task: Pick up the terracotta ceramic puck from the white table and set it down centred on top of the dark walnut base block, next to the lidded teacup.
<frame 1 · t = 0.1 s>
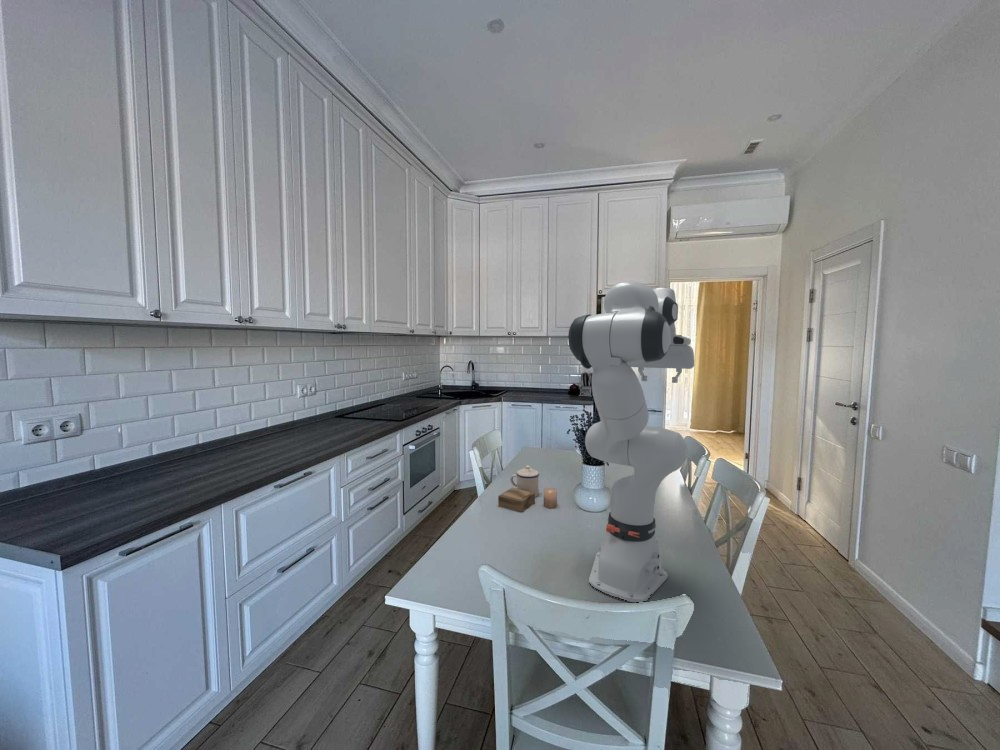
hand: (659, 381, 128), 48 cm above the table, fingers open, 8 cm apart
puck: (550, 505, 147), on the table
base: (516, 504, 148), on the table
teacup with lid: (524, 494, 159), on the table
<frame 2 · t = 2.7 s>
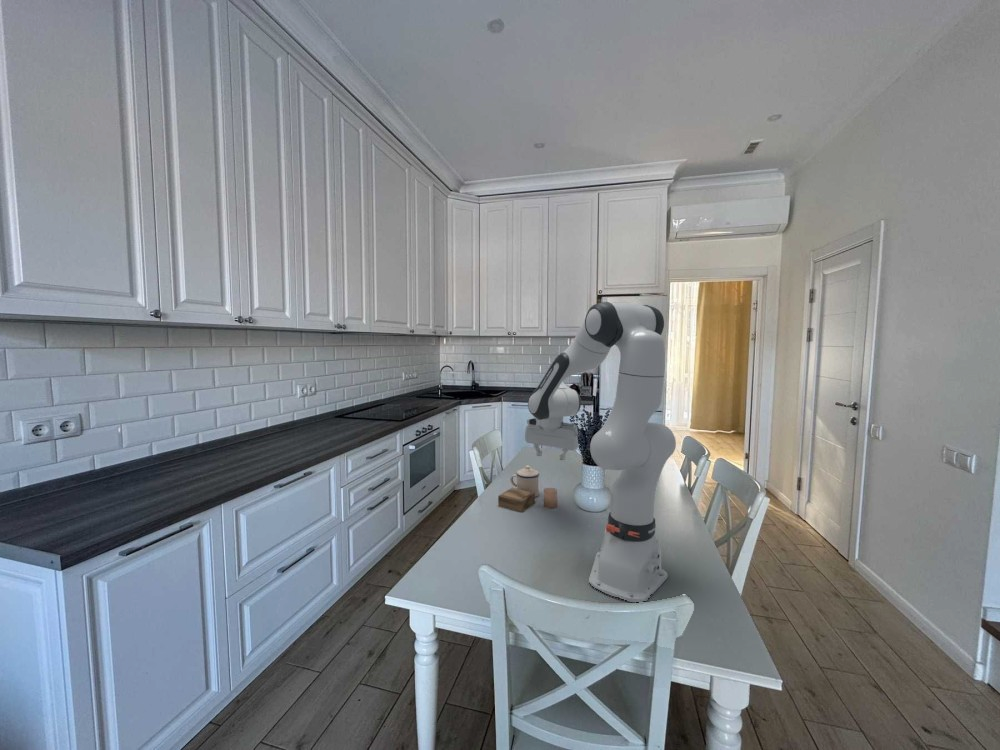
hand: (550, 457, 146), 18 cm above the table, fingers open, 8 cm apart
nothing on the table moved.
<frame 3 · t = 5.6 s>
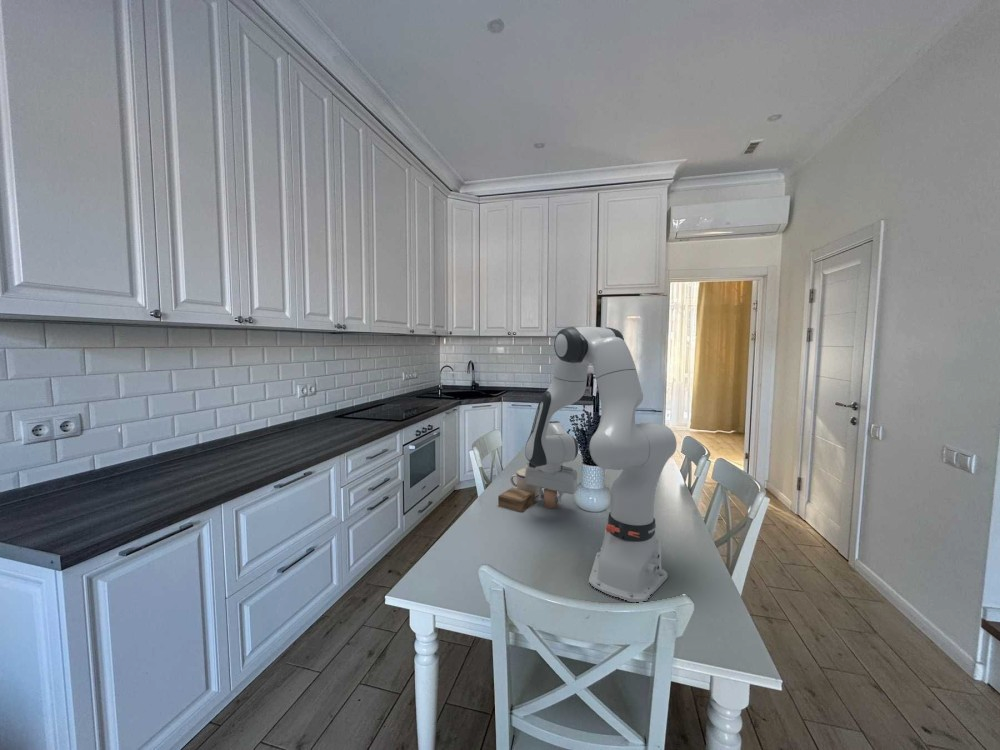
hand: (550, 500, 147), 2 cm above the table, fingers closed on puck, 5 cm apart
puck: (550, 505, 147), on the table, touching gripper
everything else where it was.
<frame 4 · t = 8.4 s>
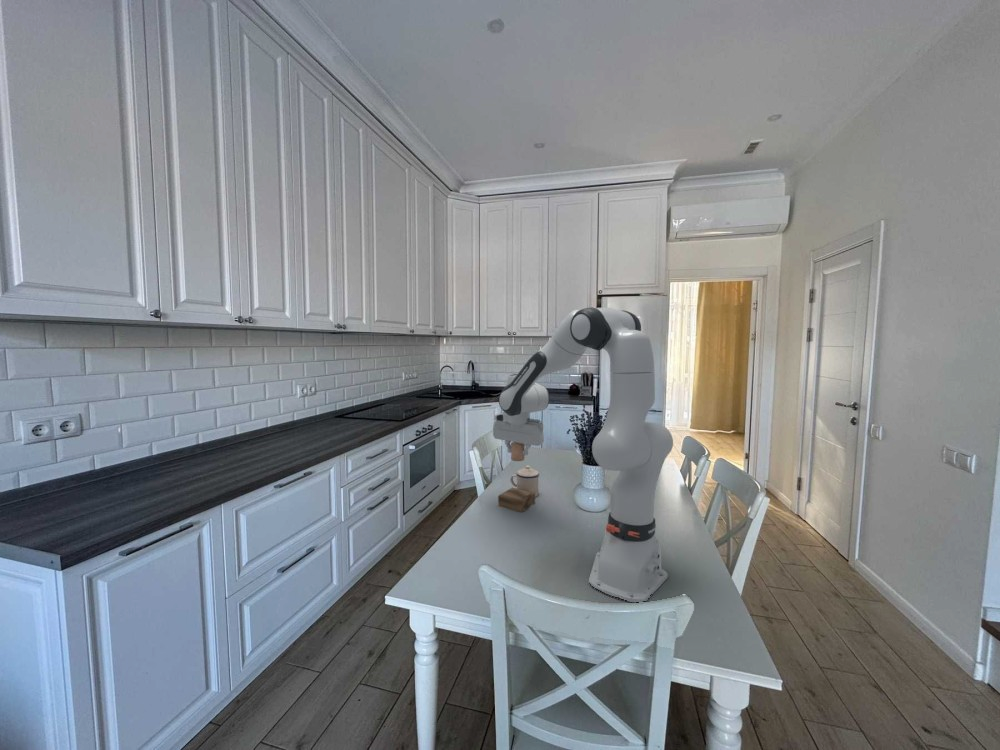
hand: (517, 453, 147), 20 cm above the table, fingers closed on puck, 5 cm apart
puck: (517, 459, 147), point 17 cm above the table, touching gripper
everything else where it was.
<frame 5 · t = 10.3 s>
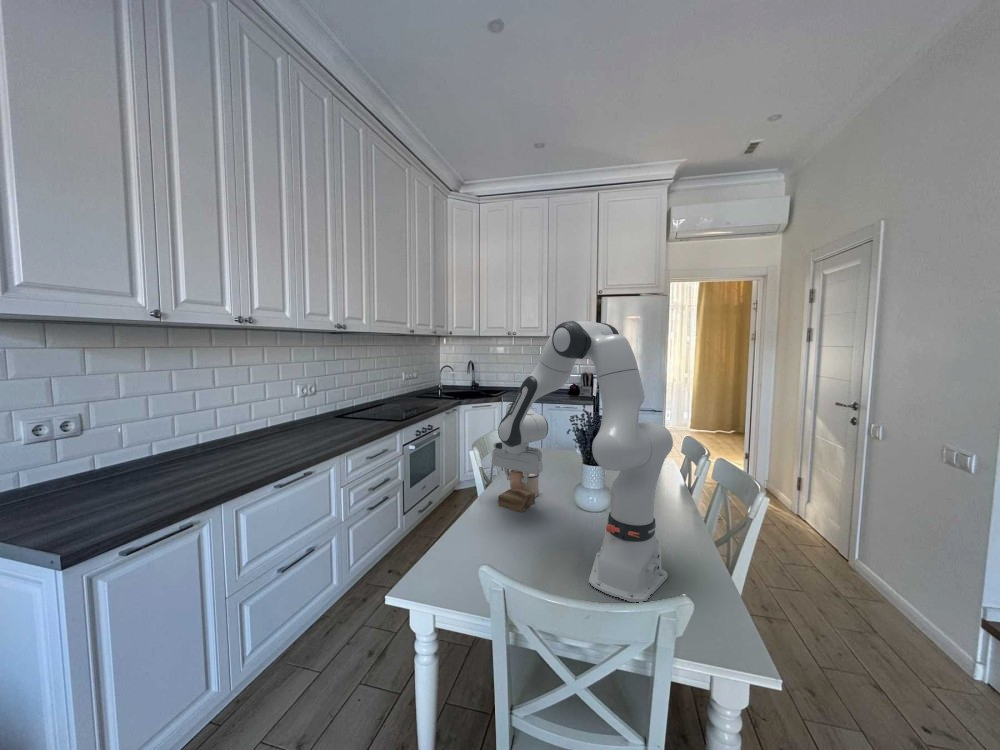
hand: (516, 481, 147), 9 cm above the table, fingers closed on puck, 5 cm apart
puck: (516, 486, 148), point 7 cm above the table, touching gripper
everything else where it was.
when the fingers open (8 cm above the table, at t = 11.5 s): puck drops 1 cm, resting on base.
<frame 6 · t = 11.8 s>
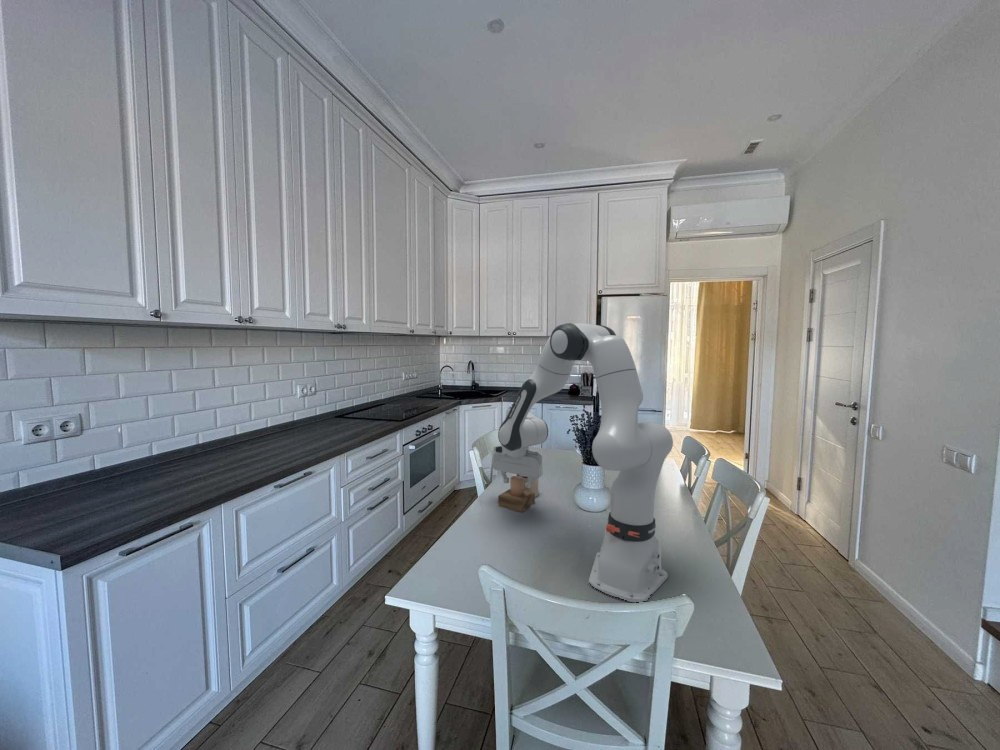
hand: (516, 485, 147), 8 cm above the table, fingers open, 8 cm apart
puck: (517, 493, 148), point 4 cm above the table, touching base
everything else where it was.
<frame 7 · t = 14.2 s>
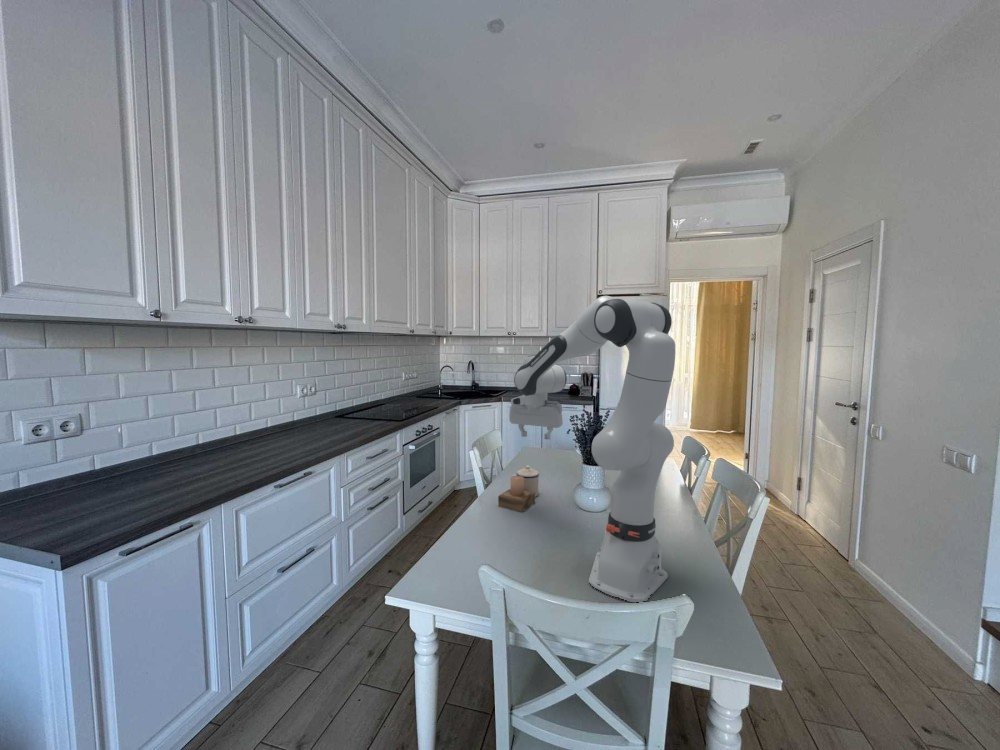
hand: (535, 437, 143), 26 cm above the table, fingers open, 8 cm apart
nothing on the table moved.
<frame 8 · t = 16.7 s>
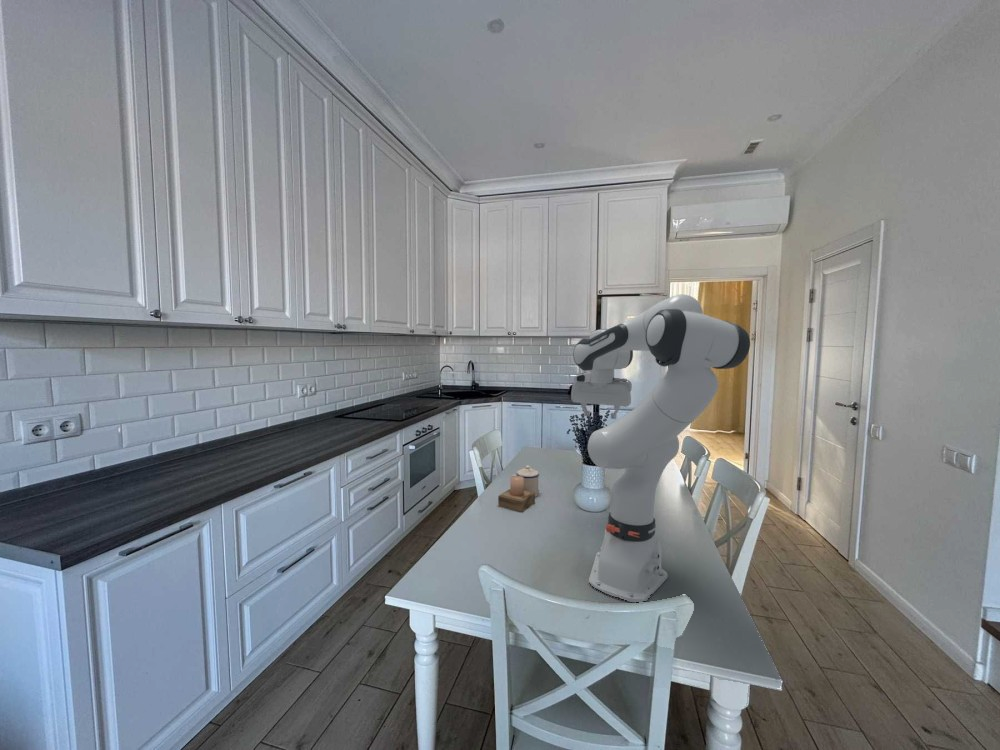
hand: (599, 417, 135), 35 cm above the table, fingers open, 8 cm apart
nothing on the table moved.
at the end: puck inside the target area on the base (0.1 cm from its centre), point 4.3 cm above the base's base; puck tilted 2°; the gripper is holding nothing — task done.
